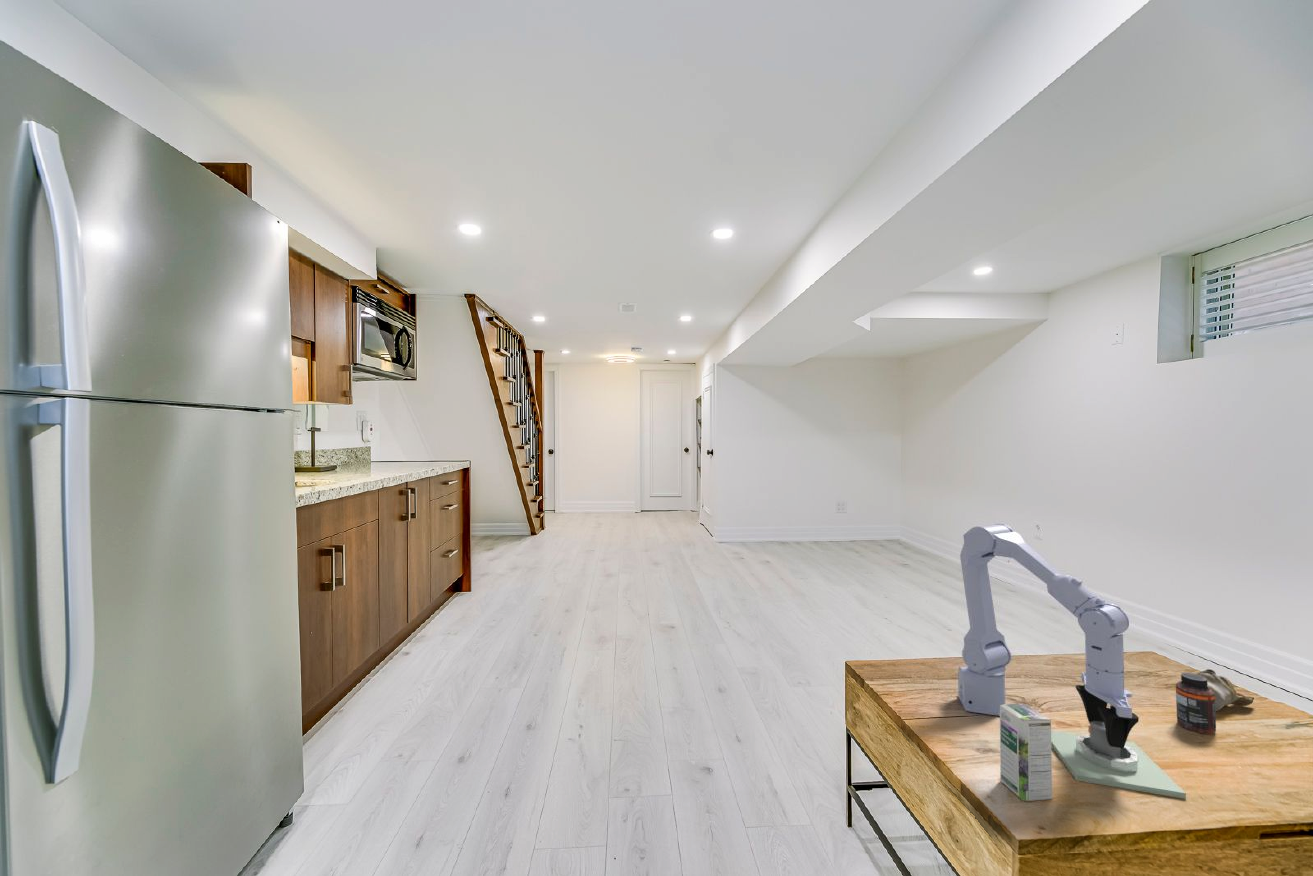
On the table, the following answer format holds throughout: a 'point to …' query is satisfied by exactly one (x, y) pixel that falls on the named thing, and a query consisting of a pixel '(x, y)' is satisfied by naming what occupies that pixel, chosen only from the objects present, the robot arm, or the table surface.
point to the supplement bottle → (1195, 704)
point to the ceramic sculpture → (1224, 690)
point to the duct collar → (1107, 762)
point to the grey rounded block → (1101, 740)
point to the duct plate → (1142, 780)
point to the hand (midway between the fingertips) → (1105, 735)
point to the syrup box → (1025, 752)
